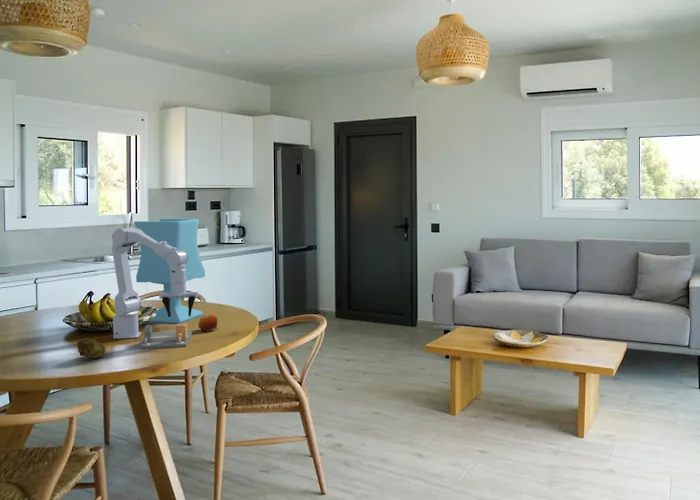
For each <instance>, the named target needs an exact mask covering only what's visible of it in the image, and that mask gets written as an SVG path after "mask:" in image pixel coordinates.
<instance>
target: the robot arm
mask: <svg viewBox="0 0 700 500" xmlns="http://www.w3.org/2000/svg"><path fill="white" fill-rule="evenodd" d="M111 239H112V245H111V250H112V251H111V252H112V258H113V259H112V260H113V264H114V270H115V276H116V283H117V289H118V290H117V291H118V293H117V294H116V295H115V296H114V305H113V308H114V312H115V315H113V319H112V327H113V328H112V329H113V340H114V339H115V340H117V339H135V338H139V337H140V336H141V335H142V332H141V331H139V313H140V312H139V311H140V310H141V309H142V301H141V299H140V297H139V293H138V292H137V291H135V290H134V287H133V281H132V276H131V275H132V274H131V267H130V264H129V263H130V262H129V255H128V251H129V250H130V248H131V247H132V246H134V245H135V244H137V243H139V244H140V243H141V244H143V245H145V246H147V247H149V248H151V249H153V250H154V253H155V254H156V255H157V256H159V257H161V258H163V259H164V260H166V261H167V263H168V265H169V269H170V276H171V292H169V293H164V292H160V293H159V294H158V296H159V297H158V298H159V299H160V300H161V302H162V303H163V307H164V306H165V308H166V310H167V313H168V317H170V316H171V310H170V298H181V299H184V298H186V299H187V304H188V306H187V307H189V311H188V315H189V316H191V310H192V309H193V306H194V304H195V303H194V302H195V300H196V298H197V299H198V298H199V292H198V291H187V281H186V270H185V264H186V263H187V261H188V255H187V253H186V252H185V251H184V250H177V248H175V247H172V246H170V245H168V244H167V242H166V241H164V242H162V241H161V242H157V241H155V240H154V239H152V238H151V237H149V236H148V235H146V234H145V233H143V232H142V230H140V229H138V228H136V227H135V226H133V227H126V228H116V229H115V230H114V231H113V233H112V234H111ZM116 314H117V315H116Z"/></svg>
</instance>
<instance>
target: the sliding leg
mask: <svg viewBox="0 0 700 500" xmlns="http://www.w3.org/2000/svg"><path fill="white" fill-rule="evenodd" d="M187 331H188V323H187V322H185V323H181V324H176V326H175V332H176V341H179V342H181V341H182V340H186V335H187Z"/></svg>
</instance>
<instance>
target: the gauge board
mask: <svg viewBox="0 0 700 500" xmlns="http://www.w3.org/2000/svg"><path fill="white" fill-rule="evenodd" d="M192 335H193V330H187V335H186V340H182V341H181V342H179V341H176V331H165V332H152V337H151V342H147V344H145V338H144V336H143V337H142V341H141V342H140V344H138V347H137V348H138V350H143V349H144V350H145V349H165V348H167V349H169V348H185V347H187V346H188V344H189V342H190V340H191V337H192Z"/></svg>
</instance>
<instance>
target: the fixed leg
mask: <svg viewBox="0 0 700 500" xmlns="http://www.w3.org/2000/svg"><path fill="white" fill-rule="evenodd" d="M143 330H144V333H143V334H144V335H143V337H144V338H145V344H147V342H151V337H152V333H153V325H152V324H146V325H145V327H144V328H143Z"/></svg>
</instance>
